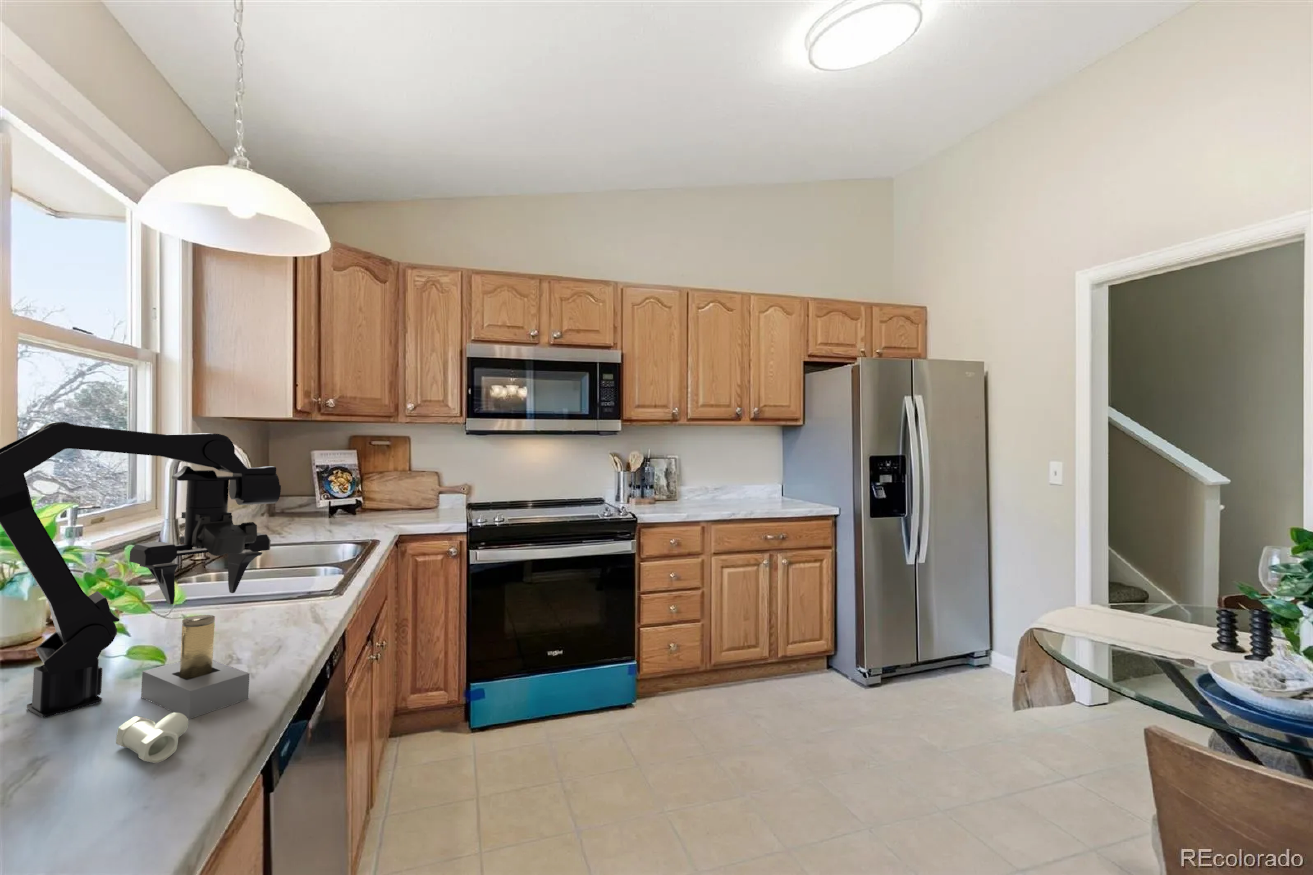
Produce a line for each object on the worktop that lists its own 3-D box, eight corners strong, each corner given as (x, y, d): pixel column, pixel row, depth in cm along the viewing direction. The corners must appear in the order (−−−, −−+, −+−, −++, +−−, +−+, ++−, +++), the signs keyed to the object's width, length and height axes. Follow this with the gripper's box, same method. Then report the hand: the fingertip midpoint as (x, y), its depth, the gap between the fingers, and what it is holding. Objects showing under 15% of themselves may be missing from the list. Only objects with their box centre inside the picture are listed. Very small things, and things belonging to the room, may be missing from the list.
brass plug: (187, 680, 89) (190, 624, 89) (174, 675, 91) (177, 619, 91) (217, 672, 93) (220, 617, 93) (203, 667, 95) (206, 613, 95)
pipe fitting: (176, 733, 82) (114, 750, 76) (180, 704, 83) (119, 719, 77) (205, 749, 78) (142, 769, 72) (209, 719, 79) (147, 736, 73)
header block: (188, 719, 85) (190, 691, 85) (141, 697, 92) (142, 671, 92) (248, 699, 92) (249, 673, 92) (200, 680, 99) (201, 655, 99)
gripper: (166, 515, 89) (160, 619, 89) (290, 506, 106) (286, 594, 106) (130, 509, 94) (125, 607, 94) (254, 501, 111) (250, 585, 111)
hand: (202, 598), depth 101 cm, fingers open, 9 cm apart
